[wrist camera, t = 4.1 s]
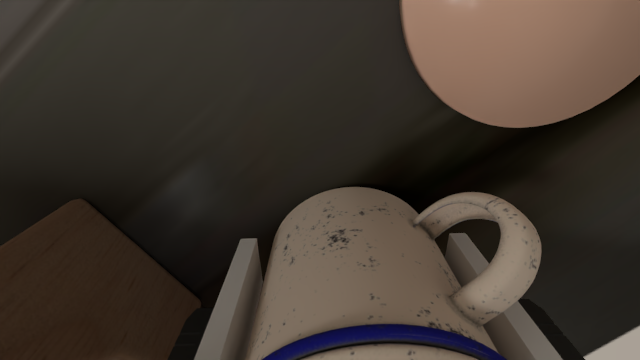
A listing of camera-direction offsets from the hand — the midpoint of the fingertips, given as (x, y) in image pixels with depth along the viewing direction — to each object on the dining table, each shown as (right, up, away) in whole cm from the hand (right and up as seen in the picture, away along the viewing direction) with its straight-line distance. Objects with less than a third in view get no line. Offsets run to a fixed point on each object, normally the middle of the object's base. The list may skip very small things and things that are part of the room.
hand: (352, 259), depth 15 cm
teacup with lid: (+1, +1, +2) cm, 2 cm away
